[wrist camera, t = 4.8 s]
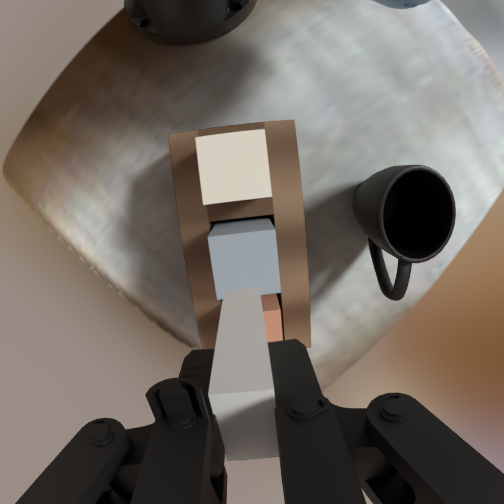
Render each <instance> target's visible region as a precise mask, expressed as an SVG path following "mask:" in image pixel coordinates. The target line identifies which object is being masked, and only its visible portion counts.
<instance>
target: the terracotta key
mask: <svg viewBox="0 0 504 504" xmlns="http://www.w3.org/2000/svg"><path fill="white" fill-rule="evenodd" d="M261 301H262V308H263V315H264V322H265V329H266V336H267V342H274V341H282V340H283V334H282V322H281V309H280V306H279V302H278V298H277V295H276V293H275V294H266V295H261Z"/></svg>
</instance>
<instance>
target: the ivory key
mask: <svg viewBox="0 0 504 504" xmlns="http://www.w3.org/2000/svg"><path fill="white" fill-rule="evenodd" d="M195 140H196V149H197V158H198V167H199V175H200V183H201V191H202V199H203V205H207V204H215V203H223V202H231V201H239V200H248V199H257V198H266V197H272V190H271V181H270V172H269V163H268V154H267V145H266V136H265V129H259V130H249V131H239V132H231V133H223V134H215V135H208V136H202V137H195Z"/></svg>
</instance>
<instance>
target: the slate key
mask: <svg viewBox="0 0 504 504" xmlns="http://www.w3.org/2000/svg"><path fill="white" fill-rule="evenodd" d="M208 243H209V250H210V257H211V263H212V270H213V276H214V283H215V289H216V295H217V300H220V299H223V295H224V292H225V291H234V290H243V289H252V288H260V294H261V295H266V294H275V293H281V285H280V274H279V262H278V251H277V241H276V230H275V228H274V226H273V224H272V223H271V221H270V220H269V218H268V216H260V217H251V218H242V219H234V220H225V221H217V222H216V224H215V226H214V227H213V229H212V231H211V232H210V234H209V236H208Z"/></svg>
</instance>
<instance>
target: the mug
mask: <svg viewBox="0 0 504 504" xmlns="http://www.w3.org/2000/svg"><path fill="white" fill-rule="evenodd" d="M353 210H354V213H355V216H356V218H357V220H358V222H359V224H360V225H361V227H362V229H363V230H364V232H365V233H366V234H367V236H368V243H369V249H370V254H371V258H372V261H373V265H374V269H375V272H376V276H377V280H378V283H379V286H380V289H381V291H382V293H383V294H384V295H385V296H386V297H387V298H389V299H391V300H395V301H398V300H400V299H402V298H403V297H404V295H405V292H406V290H407V286H408V283H409V278H410V273H411V266H412V263H421V262H425V261H428V260H430V259H432V258H433V257H435V256H436V255H437V254H438V253H440V252H441V251H442V249H443V248H444V247H445V246H446V244H447V243H448V241H449V239H450V237H451V235H452V232H453V228H454V225H455V217H456V208H455V201H454V196H453V193H452V191H451V189H450V186H449V185H448V183H447V182H446V180H445V179H444V177H442V176H441V175H440V174H439V173H438V172H437V171H435V170H433V169H432V168H430V167H427V166H422V165H402V166H393V167H389V168H386V169H384V170H381V171H379V172H377V173H375V174H373V175H372V176H371V177H369V178H368V179H367V180H365V181H364V182H363V183H362V184H361V185H360V186H359V187H358V188H357V190H356V192H355V194H354V197H353ZM381 249H383V250H384V251H386V252H387V253H389V254H391V255H392V256H394V257H396V258H398V268H397V274H396V279H395V283H394V287H393V286H392V284H391V281H390V278H389V275H388V272H387V269H386V266H385V262H384V259H383V255H382V250H381Z"/></svg>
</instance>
